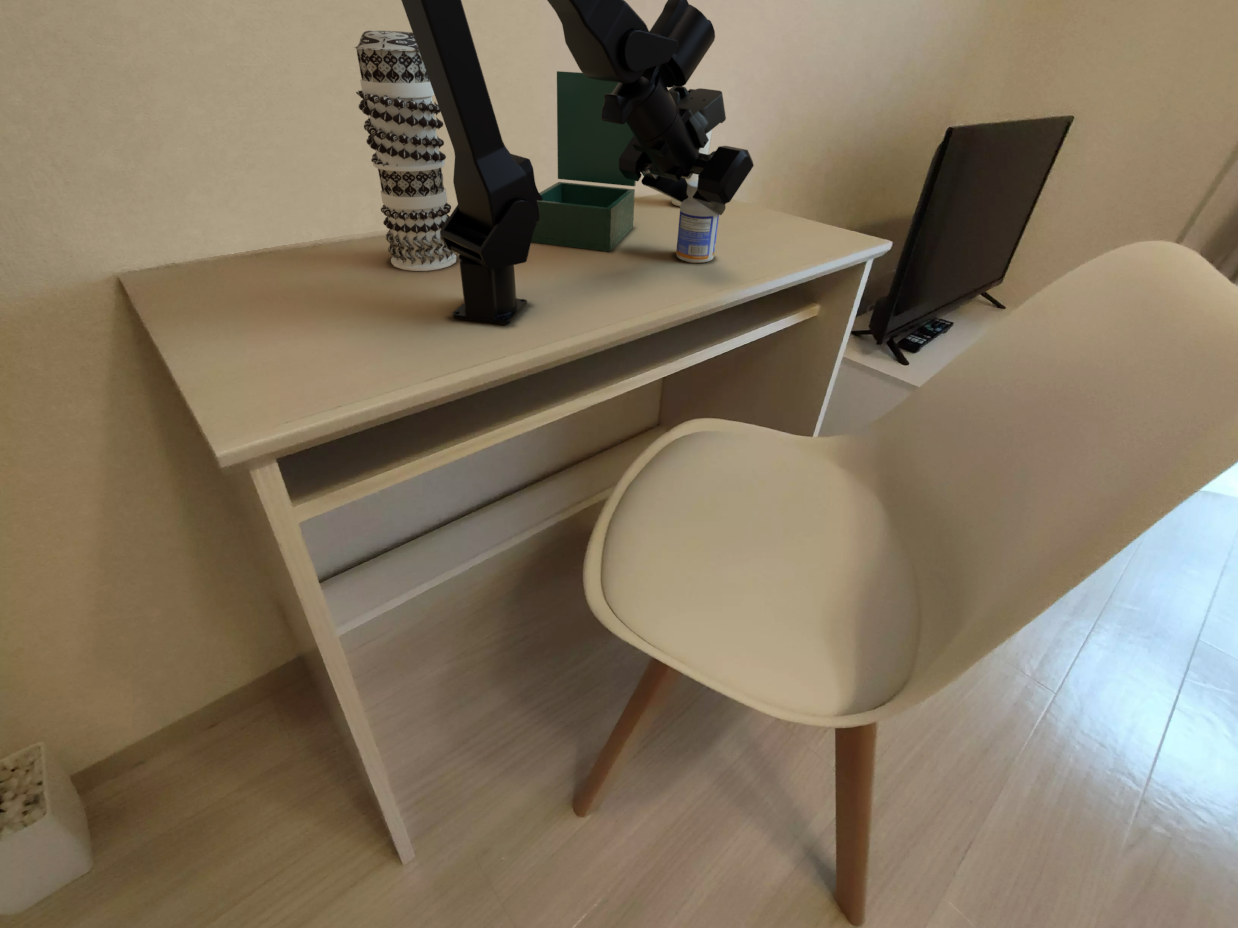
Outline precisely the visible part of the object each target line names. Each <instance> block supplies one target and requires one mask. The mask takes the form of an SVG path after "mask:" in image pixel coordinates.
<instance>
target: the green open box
mask: <svg viewBox="0 0 1238 928" xmlns="http://www.w3.org/2000/svg"><path fill="white" fill-rule="evenodd" d="M539 193H540V195H541V196H542V198H543V200H542V201H538V200H537V202H538V204H539V211H540V220H539V222H538V223H537V225H536V227H535V230H534V232H533V236H532V240H531V243H535V244H543V245H550V246H551V245H553V246H561V247H568V248H569V247H570V248H578V249H585V250H594V251H602V252H611V251H612V250H613V249H614V248H615V247H616V246H617V245H618V244H619V243H620V242H621V241H622V240H623V239H624V238H625V237H626V236H627V234H628V233H630V231H632V230H633V228H634V216H635V215H634V213H635V197H636V196H635V195H636V194H635V193H636V189H635V188H627V187H615V186H605V185H594V184H585V183H575V182H565V181H558V182H556V183H554V184H552V185H551V186H549V187H546V188H545V189H544V190H541V191H540V192H539Z"/></svg>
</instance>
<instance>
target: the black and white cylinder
mask: <svg viewBox="0 0 1238 928" xmlns="http://www.w3.org/2000/svg"><path fill="white" fill-rule="evenodd" d="M353 49H356V55H357V62H358V67H359V73H360V77H361V78H360V86H361V87H360V88H361V90H357V91H355V93H356V95H358V97H360V98H361V99H362V100H360V101H359V104H358V106H357V107H358V110H360V111H361V112H362V114H364V115H365V116H367V117H368V119H366V120H365V121H364V124H363V129H364V131H366V132H367V134H369V135H368V136H367V139H366V144H367V145H368V146H369V148H370V149H372V150H374V151H375V152H374V153H373V154H372V155H371V157H372V158H371V163H372V165H373V166H374V168H376V169H377V171H378V178H379V182H380V187H381V189H380V197H381V201H382V204H383V205H382V206H381V207H380V212H381V213H382V214H383V215H384V216H385V218H384V220H383V222H382V224H383V225H384V226H385V227H386V228H387V229H388V231H387V233H386V234H385V240H386V241H387V243H389V246H388V247H387V251H388V253H389V254H390V255H391V256H392V257H391V259H390V262H391V264H392V266H393V267H394V268H397V269H399V270H400V269H401V270H405V271H412V272H428V271H435V270H442V269H444V268H448V267H451V266H452V265H453V264H456V263H457V258H458V257H457V254H456V253H455V252H454V251H450V250H448V249H447V248H446V246H445V244H444V241H443V239H442V237H441V235H440V230H441V229H442V227H443V226H444V224H445V223H446V221H447V220H448V218H449V217H450V215H449V214H450V212H451V209H452V205H451V204H450V203H448V194H447V189H446V188H445V186H444V175H443V172H442V168H444V167H445V165H446V161H445V160H446V159H447V156H446V154H445V153H444V152H442V151H441V150H440V149H441V147H443V146H444V145H445V141H444V140H443V139H441V138H440V137H439V135H438V134H437V133H438V132H437V130H440V129H441V128H443V127H444V121H442V120H441V119H439V118H438V117H437V115H438V114H441V111H440V109H439V106H438V103H436V101H434V102H433V96H435V94H434V92H433V89H432V86H431V83H430V80H429V77H428V74H427V72H426V69H425V66H424V63H423V60H422V57H421V55H420V52H419V49H418V46H417V43H416V40H415V38H414V35H413V32H412V31H398V30H365V31H364V32H363V33H362V34H361V36H360V38H359V43H358V44H357V46H354V47H353ZM435 115H436V117H435Z"/></svg>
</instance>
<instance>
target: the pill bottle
mask: <svg viewBox="0 0 1238 928" xmlns="http://www.w3.org/2000/svg"><path fill="white" fill-rule="evenodd" d="M697 185H698V181H694V182H689V183H688V186H687V195H688V199H685V200H684V201H683V202H682V203H681V206H680V207H679V218H678V227H677V229H678V230H677V240H676V249H675V254H676V257H677V258H678V260H681V261H684V262H687V263H692V264H693V263H694V264H700V263H701V264H702V263H708V262H710V261H712V260H713V259H714V257H715V251H716V244H717V236H718V228H719V220H720V215H719V214H717V213H715V212H714V211H712V210H710V209H709V208H707V207H706V206H704V205H703V204H701V203H700V202H698V201H697V200H695V199H694V198H693V195H694V194H695V192H696V191H697Z"/></svg>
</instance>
